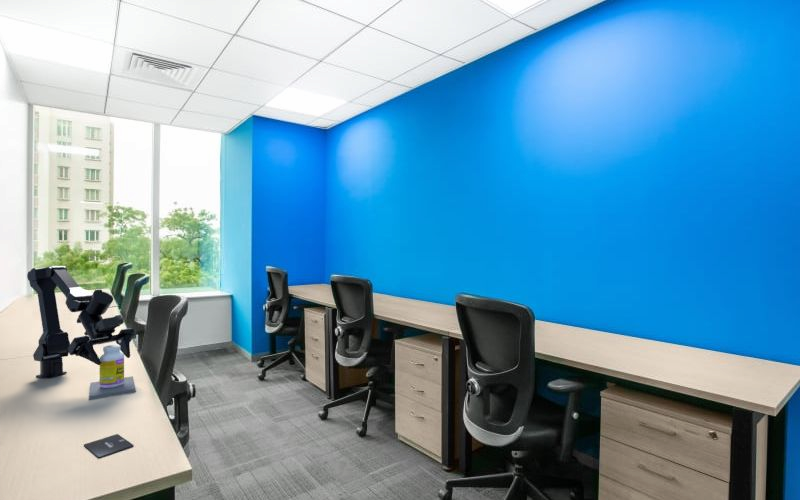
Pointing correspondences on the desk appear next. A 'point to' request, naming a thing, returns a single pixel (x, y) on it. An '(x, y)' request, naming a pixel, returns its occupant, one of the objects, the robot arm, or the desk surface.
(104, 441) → the solid state drive
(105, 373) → the supplement bottle
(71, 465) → the desk surface
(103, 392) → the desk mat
